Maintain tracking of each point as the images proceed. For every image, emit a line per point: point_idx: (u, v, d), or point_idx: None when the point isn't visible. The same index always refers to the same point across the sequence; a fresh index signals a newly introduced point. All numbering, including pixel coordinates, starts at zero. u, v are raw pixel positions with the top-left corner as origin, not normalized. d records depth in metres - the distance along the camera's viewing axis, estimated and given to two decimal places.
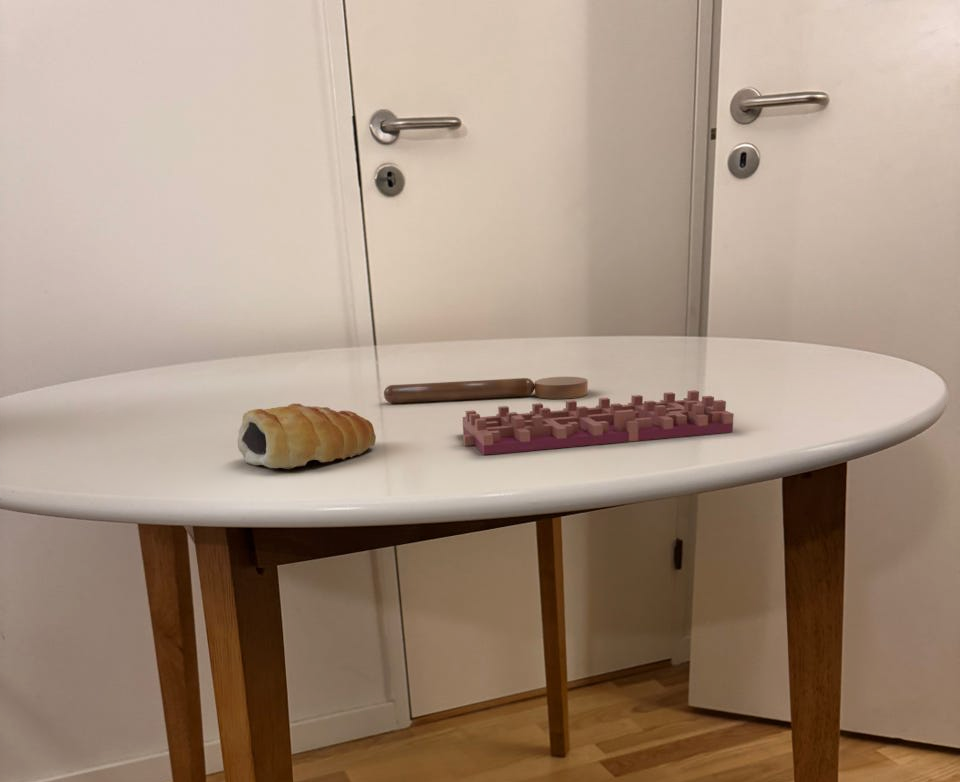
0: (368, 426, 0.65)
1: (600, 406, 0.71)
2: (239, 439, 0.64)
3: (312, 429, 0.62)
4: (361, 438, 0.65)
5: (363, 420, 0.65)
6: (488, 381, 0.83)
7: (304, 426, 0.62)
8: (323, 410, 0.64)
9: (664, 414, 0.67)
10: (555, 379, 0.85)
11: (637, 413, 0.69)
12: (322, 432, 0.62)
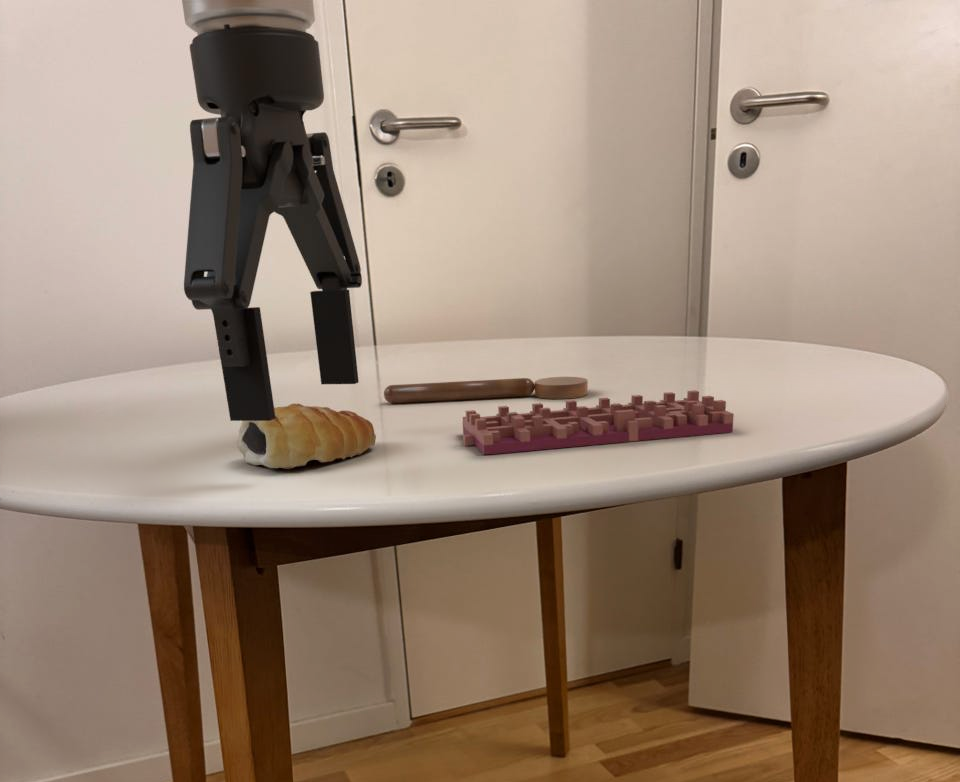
0: (368, 426, 0.65)
1: (600, 406, 0.71)
2: (239, 439, 0.64)
3: (312, 429, 0.62)
4: (361, 438, 0.65)
5: (363, 420, 0.65)
6: (488, 381, 0.83)
7: (304, 426, 0.62)
8: (323, 410, 0.64)
9: (664, 414, 0.67)
10: (555, 379, 0.85)
11: (637, 413, 0.68)
12: (322, 432, 0.62)
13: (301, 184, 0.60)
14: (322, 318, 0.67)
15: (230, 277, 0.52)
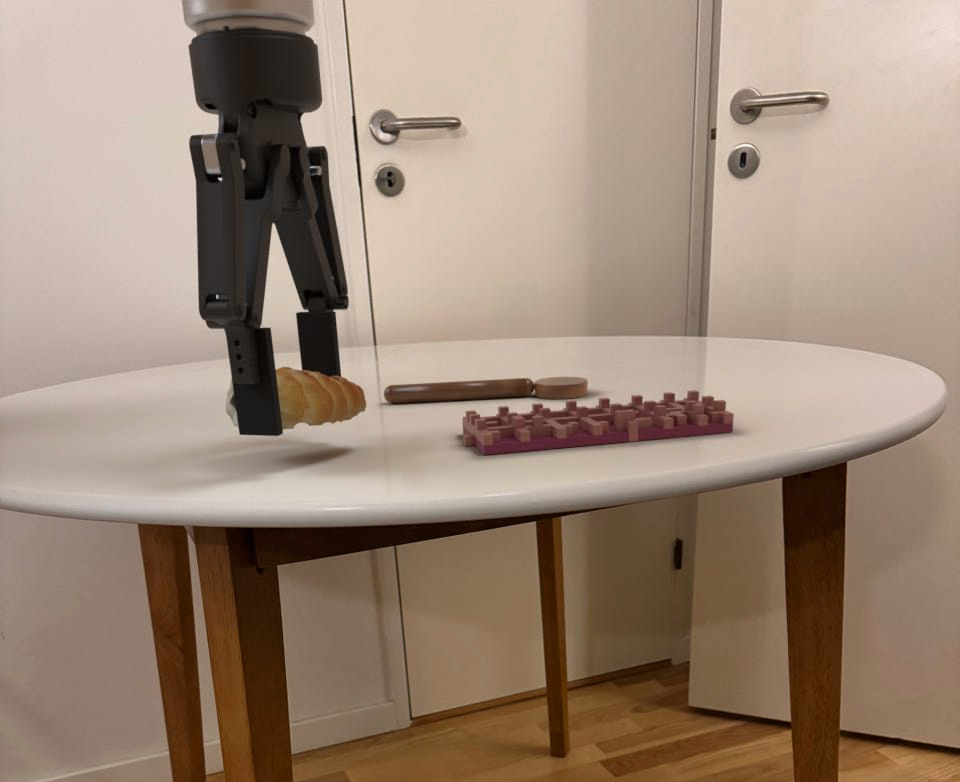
0: (358, 391, 0.65)
1: (600, 406, 0.71)
2: (227, 402, 0.63)
3: (302, 391, 0.61)
4: (351, 403, 0.64)
5: (353, 385, 0.65)
6: (488, 381, 0.83)
7: (293, 388, 0.61)
8: (313, 373, 0.63)
9: (664, 414, 0.67)
10: (555, 379, 0.85)
11: (637, 413, 0.68)
12: (311, 395, 0.61)
13: (297, 186, 0.60)
14: (308, 339, 0.67)
15: (242, 298, 0.54)
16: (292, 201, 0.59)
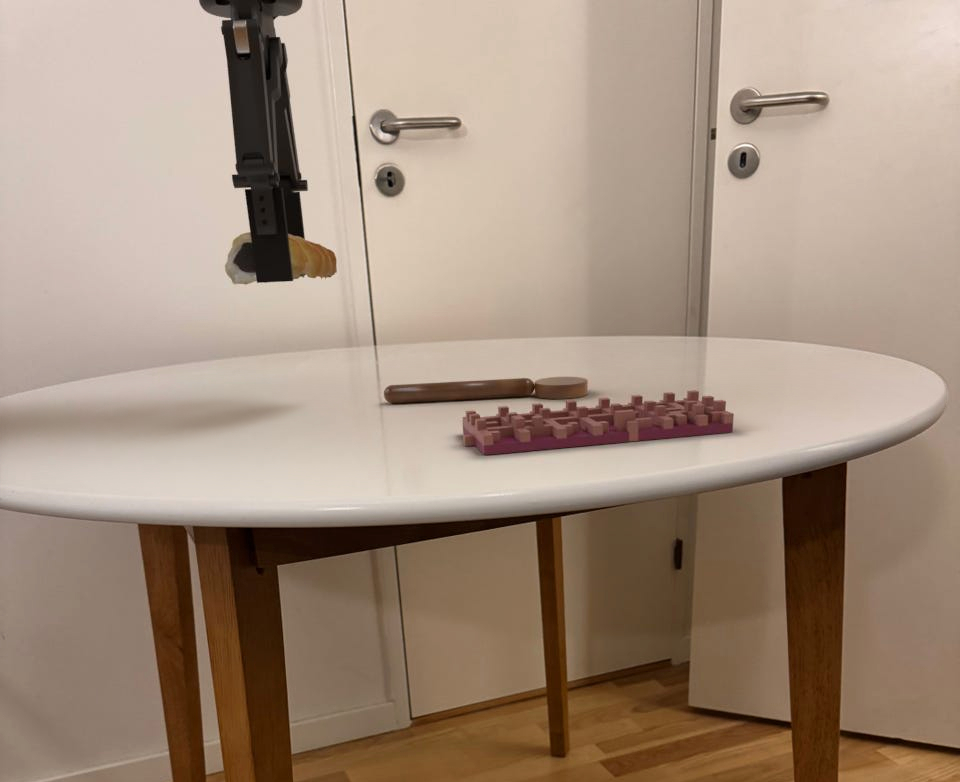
0: (333, 254, 0.78)
1: (600, 406, 0.71)
2: (229, 262, 0.74)
3: (300, 248, 0.74)
4: (331, 263, 0.77)
5: (329, 249, 0.78)
6: (488, 381, 0.83)
7: (293, 244, 0.73)
8: (300, 237, 0.76)
9: (664, 414, 0.67)
10: (555, 379, 0.85)
11: (637, 413, 0.68)
12: (307, 251, 0.74)
13: None
14: None
15: (271, 157, 0.67)
16: None
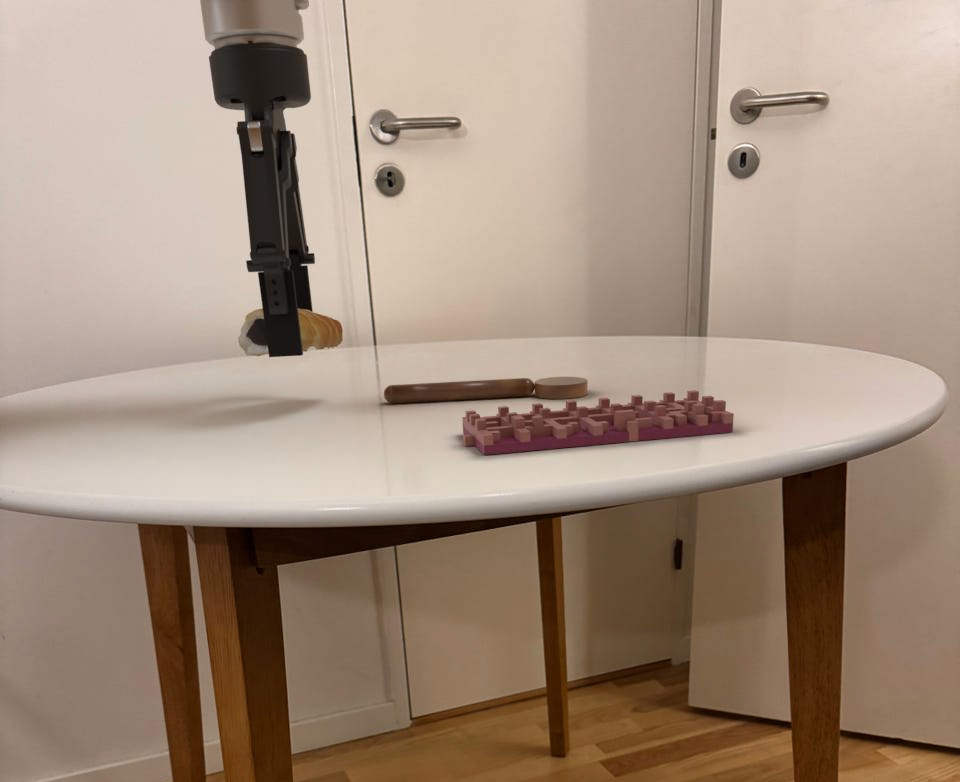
0: (340, 324, 0.83)
1: (600, 406, 0.71)
2: (242, 336, 0.79)
3: (309, 322, 0.79)
4: (338, 333, 0.82)
5: (335, 320, 0.83)
6: (488, 381, 0.83)
7: (303, 319, 0.78)
8: (308, 310, 0.81)
9: (664, 414, 0.67)
10: (555, 379, 0.85)
11: (637, 413, 0.68)
12: (316, 325, 0.79)
13: None
14: None
15: (283, 245, 0.72)
16: None
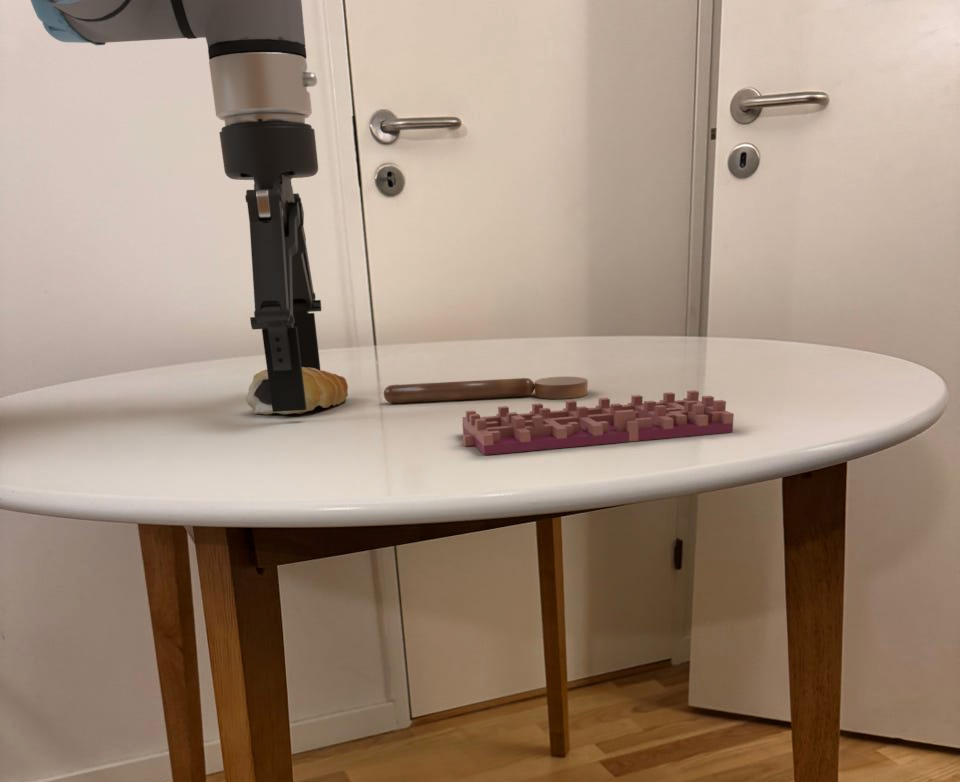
0: (345, 381, 0.85)
1: (600, 406, 0.71)
2: (250, 395, 0.81)
3: (315, 382, 0.81)
4: (343, 390, 0.84)
5: (340, 376, 0.85)
6: (488, 381, 0.83)
7: (309, 380, 0.80)
8: (314, 369, 0.83)
9: (664, 414, 0.67)
10: (555, 379, 0.85)
11: (637, 413, 0.68)
12: (322, 384, 0.81)
13: None
14: None
15: (288, 305, 0.72)
16: None
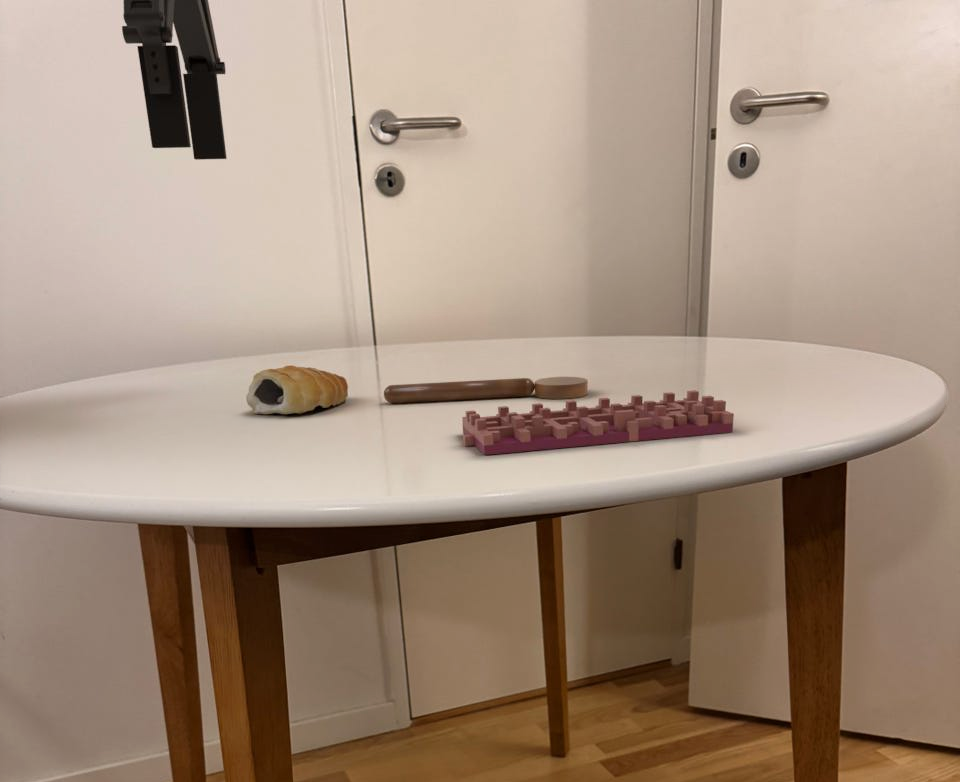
0: (345, 381, 0.85)
1: (600, 406, 0.71)
2: (250, 394, 0.81)
3: (315, 382, 0.81)
4: (343, 390, 0.84)
5: (340, 376, 0.85)
6: (488, 381, 0.83)
7: (309, 379, 0.80)
8: (314, 369, 0.83)
9: (664, 414, 0.67)
10: (555, 379, 0.85)
11: (637, 413, 0.68)
12: (322, 384, 0.81)
13: None
14: (195, 97, 0.81)
15: (162, 10, 0.65)
16: None
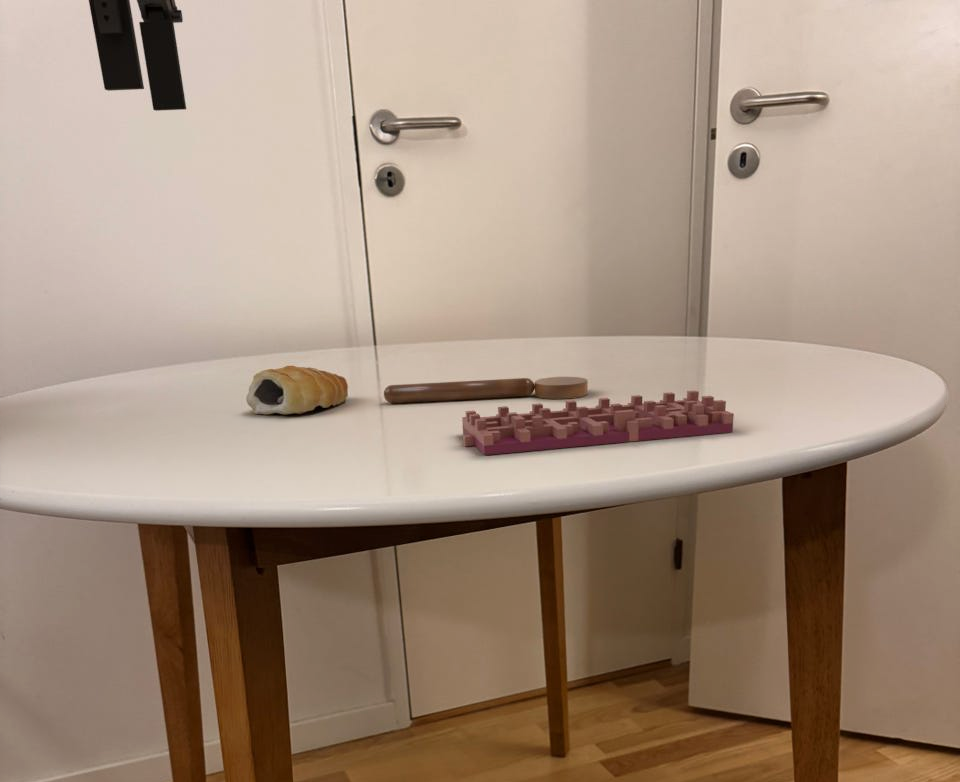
0: (345, 381, 0.85)
1: (600, 406, 0.71)
2: (250, 395, 0.81)
3: (315, 382, 0.81)
4: (343, 390, 0.84)
5: (340, 376, 0.85)
6: (488, 381, 0.83)
7: (309, 380, 0.80)
8: (314, 369, 0.83)
9: (664, 414, 0.67)
10: (555, 379, 0.85)
11: (637, 413, 0.68)
12: (322, 384, 0.81)
13: None
14: (152, 46, 0.80)
15: None
16: None
